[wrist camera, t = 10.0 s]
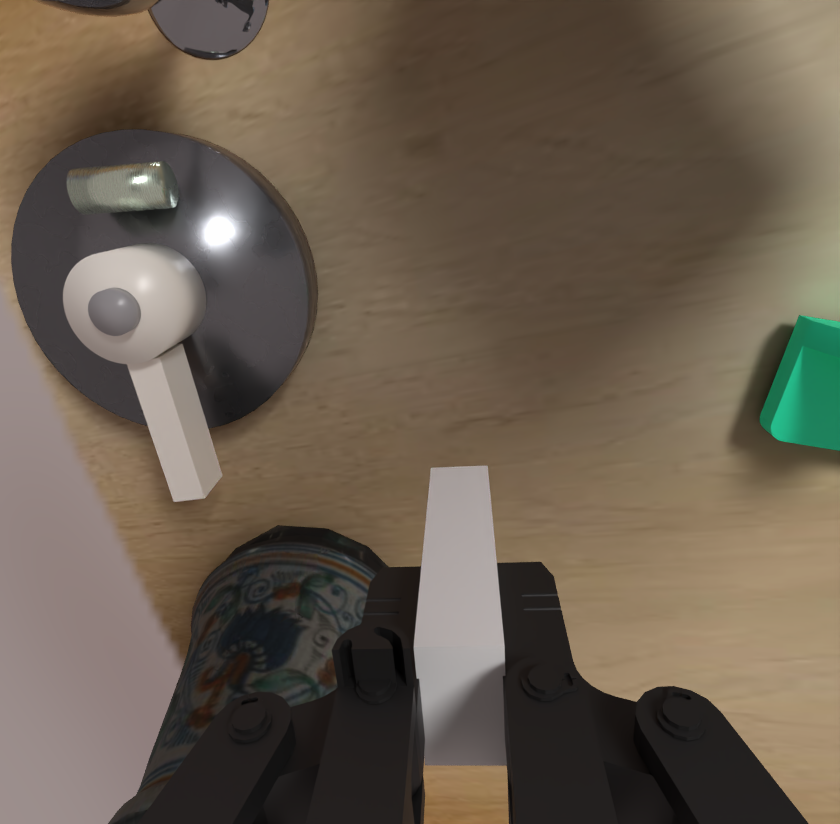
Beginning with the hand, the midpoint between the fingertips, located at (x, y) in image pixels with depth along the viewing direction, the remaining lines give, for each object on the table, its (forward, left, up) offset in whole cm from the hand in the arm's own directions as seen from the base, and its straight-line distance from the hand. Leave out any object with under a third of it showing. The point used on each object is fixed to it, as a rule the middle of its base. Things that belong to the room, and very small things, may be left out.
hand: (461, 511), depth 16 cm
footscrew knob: (+1, -18, -21) cm, 28 cm away
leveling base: (-3, -18, -24) cm, 30 cm away
